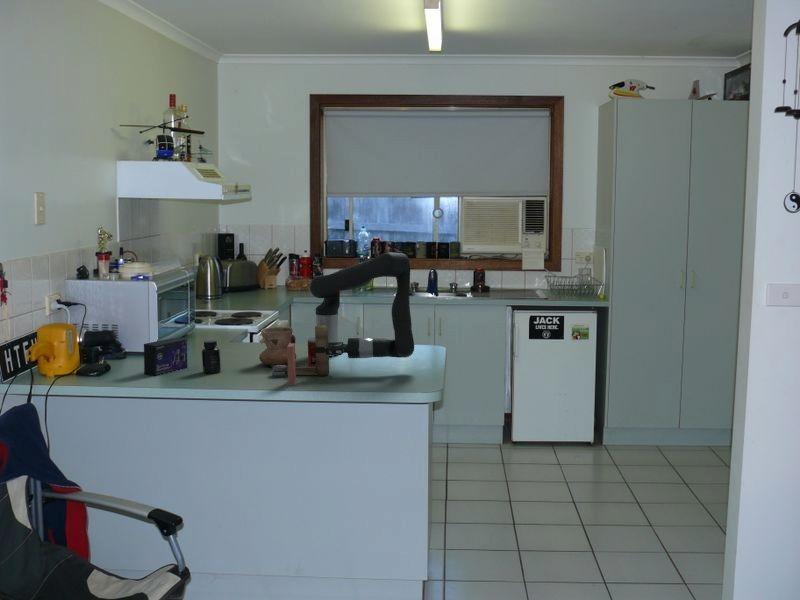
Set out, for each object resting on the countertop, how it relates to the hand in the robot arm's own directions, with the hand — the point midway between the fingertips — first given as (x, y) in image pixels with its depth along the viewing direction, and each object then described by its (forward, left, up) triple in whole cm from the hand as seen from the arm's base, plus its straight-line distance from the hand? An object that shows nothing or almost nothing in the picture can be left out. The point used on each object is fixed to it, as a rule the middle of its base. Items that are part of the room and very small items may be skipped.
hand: (315, 348), depth 331 cm
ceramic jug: (-21, -16, -10) cm, 29 cm away
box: (-11, -58, -10) cm, 60 cm away
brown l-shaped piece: (0, -5, -10) cm, 11 cm away
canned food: (-15, 0, -10) cm, 18 cm away
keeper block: (+13, -7, -10) cm, 18 cm away
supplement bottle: (-8, -40, -10) cm, 42 cm away
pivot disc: (0, -13, -10) cm, 17 cm away
